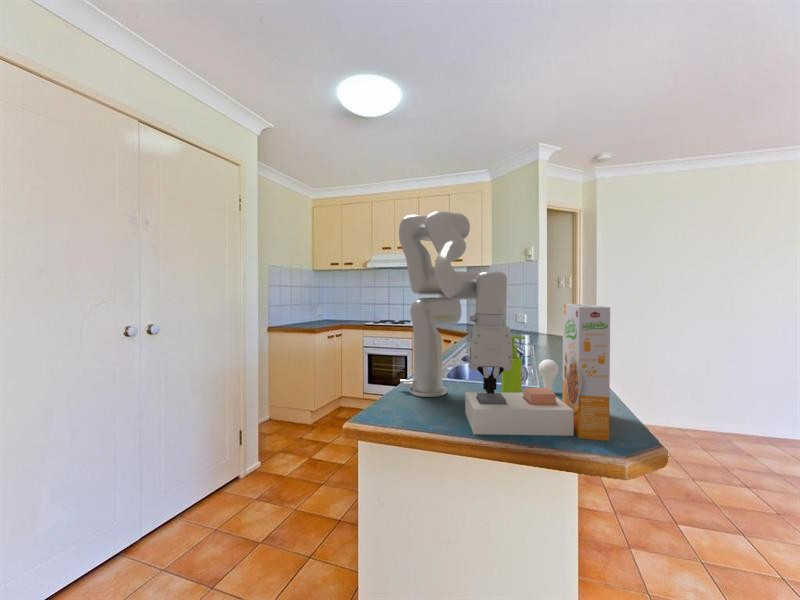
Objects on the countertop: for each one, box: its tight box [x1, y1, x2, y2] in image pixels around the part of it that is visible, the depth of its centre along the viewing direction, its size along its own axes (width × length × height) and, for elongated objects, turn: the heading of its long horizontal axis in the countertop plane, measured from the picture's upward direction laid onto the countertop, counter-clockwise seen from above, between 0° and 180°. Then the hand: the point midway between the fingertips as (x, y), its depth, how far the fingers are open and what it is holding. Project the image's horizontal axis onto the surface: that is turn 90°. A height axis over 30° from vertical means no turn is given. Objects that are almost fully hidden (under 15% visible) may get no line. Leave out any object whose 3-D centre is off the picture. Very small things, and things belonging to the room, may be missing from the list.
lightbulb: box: [538, 358, 560, 392], centre depth 118 cm, size 6×6×11 cm
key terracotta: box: [522, 387, 557, 405], centre depth 90 cm, size 6×6×4 cm
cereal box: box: [561, 303, 611, 442], centre depth 91 cm, size 22×6×30 cm, turn 164°
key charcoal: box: [477, 392, 506, 405], centre depth 90 cm, size 6×6×4 cm
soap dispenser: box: [501, 334, 526, 393], centre depth 110 cm, size 6×7×20 cm
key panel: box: [464, 391, 575, 437], centre depth 90 cm, size 23×14×6 cm, turn 88°
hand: (489, 392), depth 91 cm, fingers closed
